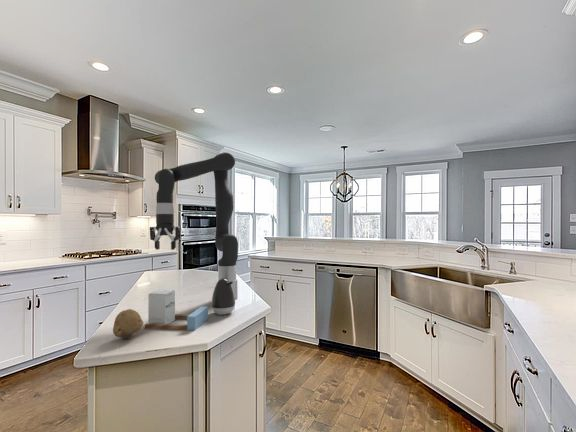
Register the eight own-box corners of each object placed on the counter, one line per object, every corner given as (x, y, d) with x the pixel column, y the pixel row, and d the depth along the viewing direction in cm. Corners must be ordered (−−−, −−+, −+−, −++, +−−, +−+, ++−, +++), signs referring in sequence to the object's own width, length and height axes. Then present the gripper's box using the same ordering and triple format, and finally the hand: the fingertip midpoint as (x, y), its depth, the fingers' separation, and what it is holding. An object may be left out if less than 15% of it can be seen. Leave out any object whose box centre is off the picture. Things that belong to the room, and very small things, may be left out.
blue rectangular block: (187, 329, 114) (187, 316, 114) (201, 318, 127) (200, 306, 127) (195, 330, 113) (195, 316, 113) (208, 318, 126) (207, 306, 126)
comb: (144, 328, 115) (144, 324, 115) (162, 317, 128) (162, 313, 128) (187, 329, 114) (187, 325, 114) (201, 318, 127) (201, 314, 127)
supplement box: (164, 326, 117) (164, 294, 117) (147, 325, 119) (147, 293, 119) (175, 320, 124) (175, 289, 125) (159, 319, 126) (159, 288, 126)
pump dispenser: (224, 318, 126) (223, 281, 126) (206, 314, 132) (206, 279, 132) (240, 312, 135) (240, 277, 135) (223, 308, 140) (222, 275, 141)
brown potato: (147, 333, 110) (147, 306, 110) (134, 343, 101) (134, 313, 102) (123, 333, 111) (123, 306, 111) (107, 343, 102) (107, 313, 102)
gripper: (145, 213, 136) (145, 250, 136) (175, 212, 135) (176, 250, 135) (154, 213, 144) (155, 248, 144) (183, 213, 142) (184, 248, 142)
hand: (165, 249), depth 139 cm, fingers open, 7 cm apart
